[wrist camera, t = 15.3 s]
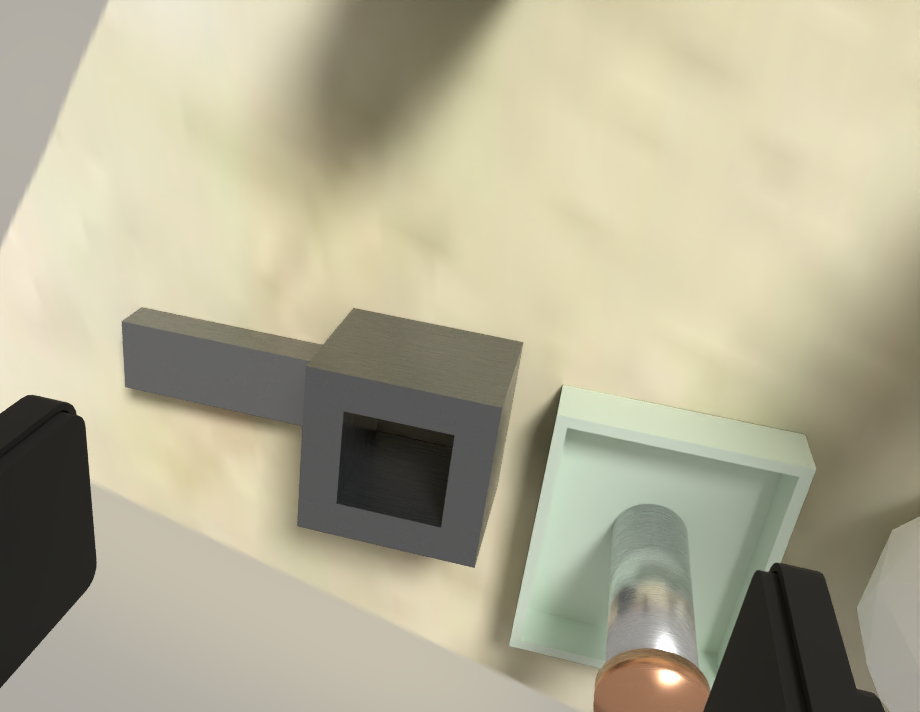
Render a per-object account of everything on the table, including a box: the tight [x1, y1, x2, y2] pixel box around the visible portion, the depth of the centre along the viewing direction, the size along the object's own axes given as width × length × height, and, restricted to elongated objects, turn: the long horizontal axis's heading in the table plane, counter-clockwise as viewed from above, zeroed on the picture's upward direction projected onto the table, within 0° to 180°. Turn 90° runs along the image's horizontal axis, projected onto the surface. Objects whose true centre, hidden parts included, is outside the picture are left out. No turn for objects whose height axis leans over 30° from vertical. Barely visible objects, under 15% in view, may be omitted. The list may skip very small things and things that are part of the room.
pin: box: [594, 504, 710, 712], centre depth 40 cm, size 5×5×12 cm
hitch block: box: [122, 308, 523, 568], centre depth 43 cm, size 21×9×7 cm, turn 82°
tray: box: [509, 385, 816, 691], centre depth 45 cm, size 15×12×3 cm
